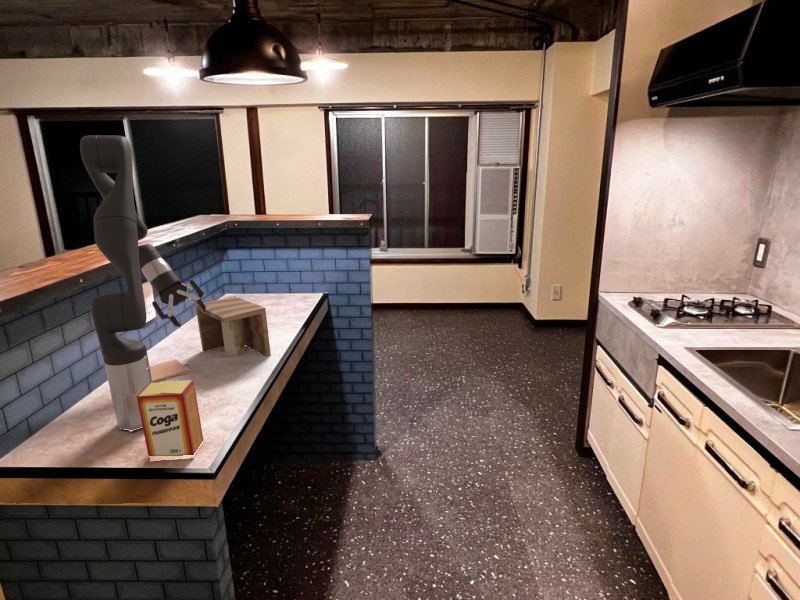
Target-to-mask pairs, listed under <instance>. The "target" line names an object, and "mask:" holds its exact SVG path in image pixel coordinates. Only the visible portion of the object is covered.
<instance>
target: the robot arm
mask: <svg viewBox="0 0 800 600" xmlns="http://www.w3.org/2000/svg"><path fill="white" fill-rule="evenodd" d="M79 143H80V144H79V148H80V149H79V150H80V151H79V152H80V156H81V160H82V163H83V165H84V168H85V170H86V171H87V173H88V175H89V177H90V179H91V181H92V183H93V184H94V186H95V187H96V189H97V191H98V192H99V194H100V195H101V197H102V202H101V203H100V204H99V206H98V207H97V208H96V210H95V213H94V216H93V230H94V231H93V233H94V242H95V244H96V246H97V248H98V250H99V251H100V252H101V254H102V255H104V257H105V258H106V259H107V260H108V261H109V262H110V263H111V264H112V265H113V266H114V268H115V269H116V270H117V272H118V273H119V274H120V275H121V277H122V279H123V280H124V282H125V285H126V289H127V290H126V291H125V292H124V291H123V292H115V293H105V294H99V295H95V296H94V297H93V298H92V300H91V304H90V312H91V317H92V322H93V325H94V329H95V332H96V335H97V338H98V339H97V340H98V343H99V347H100V352H101V355H102V359H103V364H104V368H105V372H106V377H107V382H108V386H109V393H110V396H111V401H112V405H113V410H114V414H115V418H116V419H115V420H116V424H117V427H119V428H121V429H129V430H134V429H137V428H140V427H143V426H142V421H141V416H140V411H139V406H138V401H137V395H138V394H139V393H140V392H141V391H142V390H143V389H144V388H145V387H146V386H147V385H148V384H149V383H153V382H152V377H151V372H150V366H151V365H150V362H149V357H148V351H147V347H146V346H147V345H146V344H145V343H144V342H142V341H140V340H135V339H131V338H127V337H123V336H122V335H119V334H118V333H124V332H132V331H138V330H142V329H143V328H145V326H146V324H147V307H146V301H145V293H144V288H143V282H142V273H143V275H144V277H145V278H146V281H147V282H148V283H149V284H150V285H151V287H152V288H153V290H154V291H155V292H156V293H157V295H158V297H159V298H160V299H158V300H155V301H152V303H151V304H152V307H153V309H154V310H155V312H156V313H157V315H158V316H159V318H160V319H161V320H162V321H164V320H169V321H170V322H171V324H173V326H174V327H175V328H177V327H178V328H181V327H182V325H181V323H180V322H179V321H178V320H177V318H176V317H175V315H173V310H174V309H173V308H174V307H177V306H179V305H180V304H182V303H184V302H186V300H189V301H193V302H196V305H198V306H199V307H200V309H201V310H202V311H203V313H204V312H205V311H206V310H205V309H206V306H205V305H204V303H205V302H203V301H202V298H203V297H204V294H205V293H204V291H203V290H202V289H201V288H200V287H199V286H198V284H197V283H196V281H194V280H193V279H190V280H189V282H186V284H184V283H182V281H181V280H180V278H179V277H178V276H177V275H176V273H175V272H174V271H173V269H172V268H171V266H170V265H169V264H168V262H167V261H166V260H165V259H164V258H163V257H162V256H161V254H160V253H159V252H158V249H156V248H155V246H154V245H153V244H150V243H147V244H140V245H139V241H141V240H143V239H145V238H146V237H147V235H148V232H149V231H148V228H147V226H146V224H145V223H144V221H143V220H142V219H141V218H140V216H139V215H138V213H137V210H136V206H135V201H134V200H135V198H134V181H133V180H134V175H133V173H134V171H133V170H134V169H133V164H134V163H133V153H132V152H133V151H132V146H131V143H130V141H129V139H128V138H127V137H125V136H124V135H101V134H100V135H95V134H94V135H90V134H89V135H84V136H83V137H81V139H80V142H79ZM107 174H116V177H115V180H113V179H112V178H111V177H110V176H109V175H107ZM141 272H142V273H141ZM188 288H189V289H191V290H192V289H193V290H194V291H195V293H196V294H197V295H195V294H192V293H190V292H188ZM162 304H165V305H167V313H164V312H163V310H162V309H161V307H162ZM119 428H118V429H119Z"/></svg>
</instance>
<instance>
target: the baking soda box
mask: <svg viewBox="0 0 800 600" xmlns="http://www.w3.org/2000/svg"><path fill="white" fill-rule="evenodd" d="M137 401H138V406H139V411H140V416H141V421H142V426H143V429H142V430H143V436H144V440H145V445H146V450H147V455H148V457H149V456H183V455H194V453H195V452H196V450H197V449H198V447H199V446H200V444H201V443H202V441H203V440H204V435H203V427H202V424H201V418H200V417H201V416H200V410H199V404H198V400H197V392H196V387H195V381H194V380H193V379H192V380H191V379H190V380H171V381H158V382H155V383H149V384H148V385H147V386H146V387H145V388H144V389H143V390H142V391H141V392H140V393H139V394H138V395H137Z"/></svg>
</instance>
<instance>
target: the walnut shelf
mask: <svg viewBox="0 0 800 600" xmlns="http://www.w3.org/2000/svg"><path fill="white" fill-rule="evenodd" d="M203 303H204V305H205V306H206V309H205V310H206V311H205V312H204V313H203V311H202V310H201V309H200V307H199V306H198V305H197V304H195V310H196V311H195V312H196V317H197V325H198V331H199V337H200V344H201V349H202V352H203V353H204V352H209V351H212V349H213V350H216V349H219V348H218V347H220V348H223V347H224V340H223V332H222V324H221V322H224V323H225V322H229V321H233V320H237V319H241V318H242V324H243V333H244V341H245V345H246V346H245V347H247V346H248V347H247V348H249V347H250V348H249V349H251V350H253V351H254V352H257V353H258V352H259V354H260V355H263V356H265V357H266V358H268V357H270V356H271V357H272V353H271V345H270V338H269V328H268V320H267V319H268V318H267V311H266V307H264V306H262V305H259V304H256V303H253V302H251V301H248V300H246V299H244V298H241V297H239V296H229V297H225V298H220V299H217V300H215V299H214V300H212V301H207V302H203ZM222 346H223V347H222ZM215 348H216V349H215ZM208 350H209V351H208Z"/></svg>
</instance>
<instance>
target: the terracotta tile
mask: <svg viewBox="0 0 800 600" xmlns="http://www.w3.org/2000/svg"><path fill="white" fill-rule="evenodd" d="M149 366H150V372H151V377H152V382H153V383H155V382H162V381H165V380H167V379H172V378H174V376H175V377H177V375H178V376H182V375H184V374H188V373H190V371H191V370H190V368H188V367H187V366H186V365H184V364H183V363H181V362H180V361H178V360H177V359H171V360H168V361H165V362H161V363H158V364H153V365H149Z"/></svg>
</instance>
